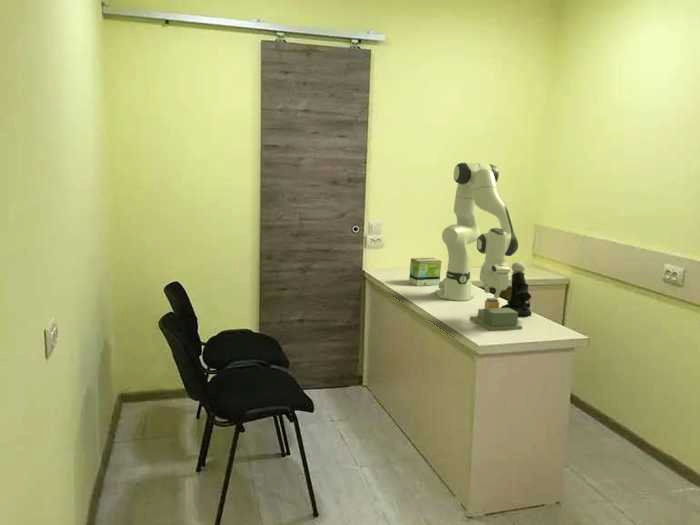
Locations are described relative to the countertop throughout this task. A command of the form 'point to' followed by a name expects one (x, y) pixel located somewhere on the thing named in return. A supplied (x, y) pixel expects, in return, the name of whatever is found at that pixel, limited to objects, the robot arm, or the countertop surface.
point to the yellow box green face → (491, 303)
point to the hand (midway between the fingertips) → (491, 295)
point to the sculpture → (519, 291)
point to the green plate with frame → (497, 318)
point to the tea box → (425, 271)
